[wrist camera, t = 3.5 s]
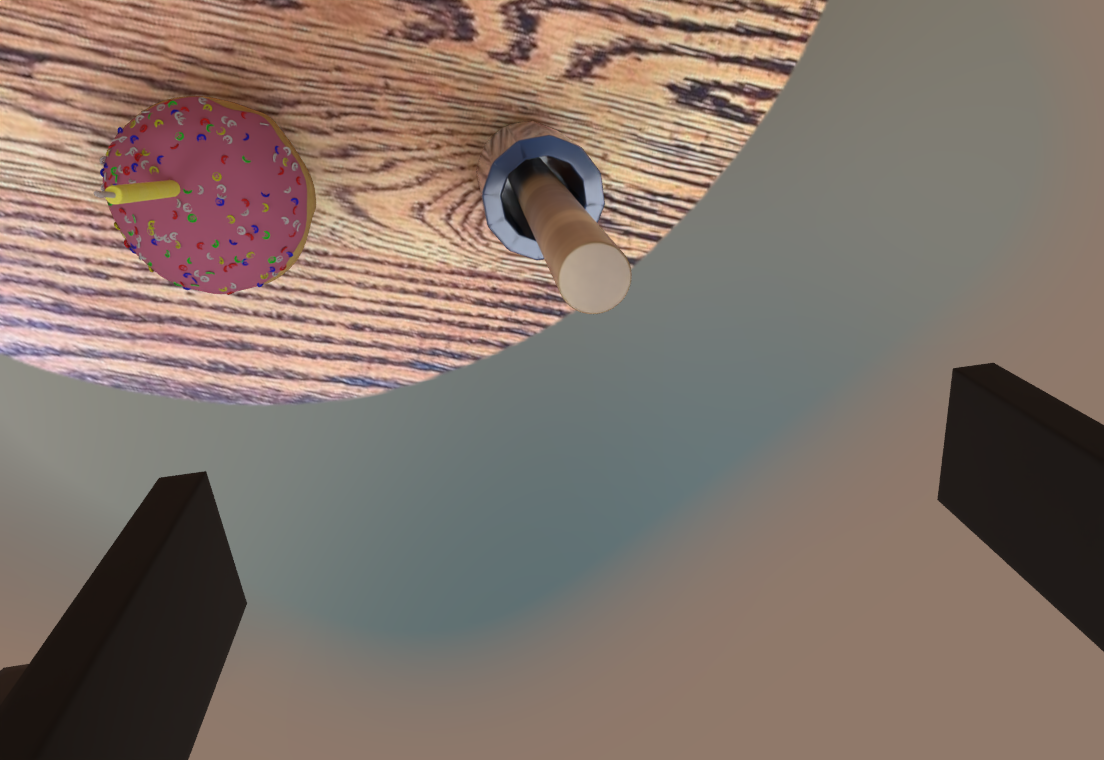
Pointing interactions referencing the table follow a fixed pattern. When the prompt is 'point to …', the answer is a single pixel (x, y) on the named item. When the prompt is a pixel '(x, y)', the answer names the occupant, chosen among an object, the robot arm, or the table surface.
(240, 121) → the cupcake
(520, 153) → the holder
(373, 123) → the table surface
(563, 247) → the stick
